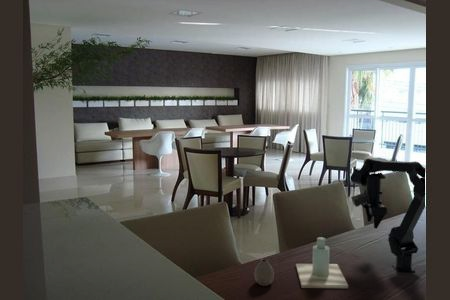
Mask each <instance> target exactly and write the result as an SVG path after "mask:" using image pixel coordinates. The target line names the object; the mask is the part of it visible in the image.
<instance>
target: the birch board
mask: <svg viewBox="0 0 450 300" xmlns="http://www.w3.org/2000/svg"><path fill="white" fill-rule="evenodd" d="M295 266H296V272H297V276H298V278H299V279H298V280H299V282H300V287H301V288H302V289H349V284H348V282H347V280H346V278H345V276H344V274H343V273H342V270H341V268H340V266H339V265H338V264H337V263H329V276H327V277H317V276H315V275H313V273H312V269H313V263H295Z"/></svg>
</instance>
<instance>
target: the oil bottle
mask: <svg viewBox="0 0 450 300" xmlns="http://www.w3.org/2000/svg"><path fill="white" fill-rule="evenodd" d="M312 264H313V269H312V273H313V275H315V276H317V277H327V276H329V264H330V247H329V246H328V245H326V238H325V237H323V236H321V237H316V244H315V245H313V246H312Z"/></svg>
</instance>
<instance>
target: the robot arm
mask: <svg viewBox="0 0 450 300" xmlns="http://www.w3.org/2000/svg"><path fill="white" fill-rule="evenodd" d="M425 169H426V168H425V167H424V166H423V165H422V164H421V163H420V162H419V161H399V160H398V161H396V160H395V161H394V160H387V159H385V158H381V157H372V158H366V159H365V161H364V163H363V165H362V166H361V168H359V167H358V168H354V171H353V172H352V173H351V174H350V175H351V176H350V182H351V183H352V184H353V185H354V184H355V185H359V186H363V187H365V188H364V190H363V193H359V194H357V195H353V196H351V197H350V198H351V201H352V204H353V205H354V207H356V208H358V207H360V206H362V207H363V209H364V211H365V215H366V220H367V221H366V222H371V220H372V223H373V228H374V229H378V227H379V225H380V224H381V223H382V220H383V219H384V217H385V216H386V215H387V214H388V213H389V212H388V207H386V206H385V205H383V201H382V200H381V195H383V191H382V190H381V188H382V180H385V179H386V178H387V177H386V176H385V175H384V174H383V173H382V172H398V173H399V172H400V173H406V174H407V175H408V177H409V182H410V183H411V184H412V185H413V187H412V192H413V198H412V200H411V202H410V204H409V206H408V208H407V210H406V212H405V215H404V216H403V219H402V220H401V223H400V224H399V225H398V226H393V227H392V228H391V230H390V232H389V233H388V235H387V236H388V239H387V241H388V245H389V249H390V252H391V254H393V255H394V256H395V263H392V267H393V268H394V269H395V270H396V271H397V272H400V273H401V272H404V273H405V272H408V273H413V272H415V273H416V270H415V268H414V267H413V266H412V265H413V254H417V253H418V251H419V248H418V246H417V244H416V243H415V242H414V238H415V237H414V235H415V234H414V229H415V228H416V226H417V224H418V222H419V220H420V217H421V216H422V214H423V212H424V210H425V208H426V206H425Z"/></svg>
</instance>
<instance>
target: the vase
mask: <svg viewBox="0 0 450 300" xmlns="http://www.w3.org/2000/svg"><path fill="white" fill-rule="evenodd" d="M274 278H275V272H274V269H273V267H272V265H271V264H270V263H269V261H268V259H266V258H262V259H260V261H259V263H257V265H256V267H255V269H254V279H255V281H256V283H257V284H258V285H259V286H261V287H262V286H263V287H267V286H269V285H271V284H272V283H273V281H274Z"/></svg>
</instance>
